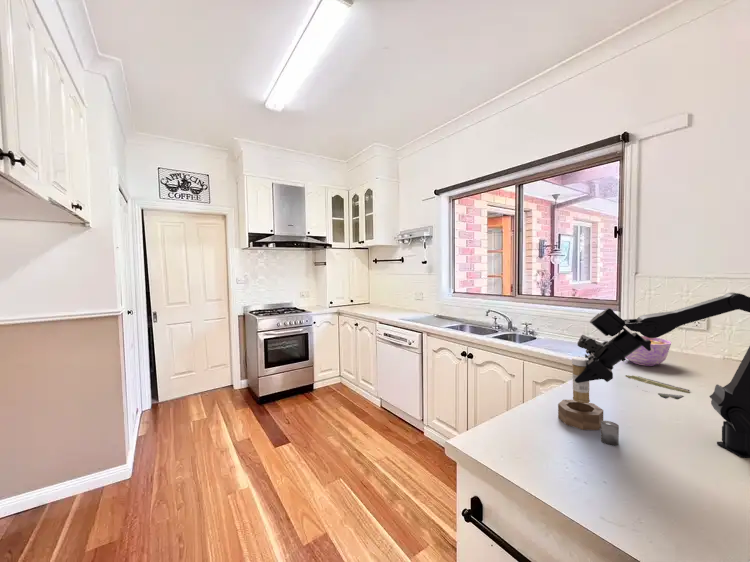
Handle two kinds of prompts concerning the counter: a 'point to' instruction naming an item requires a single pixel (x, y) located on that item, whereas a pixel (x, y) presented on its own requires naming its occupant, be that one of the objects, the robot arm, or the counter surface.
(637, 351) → the bowl of food
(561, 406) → the walnut collar
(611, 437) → the short metal stub
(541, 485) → the counter surface
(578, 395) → the sprinkles bottle
